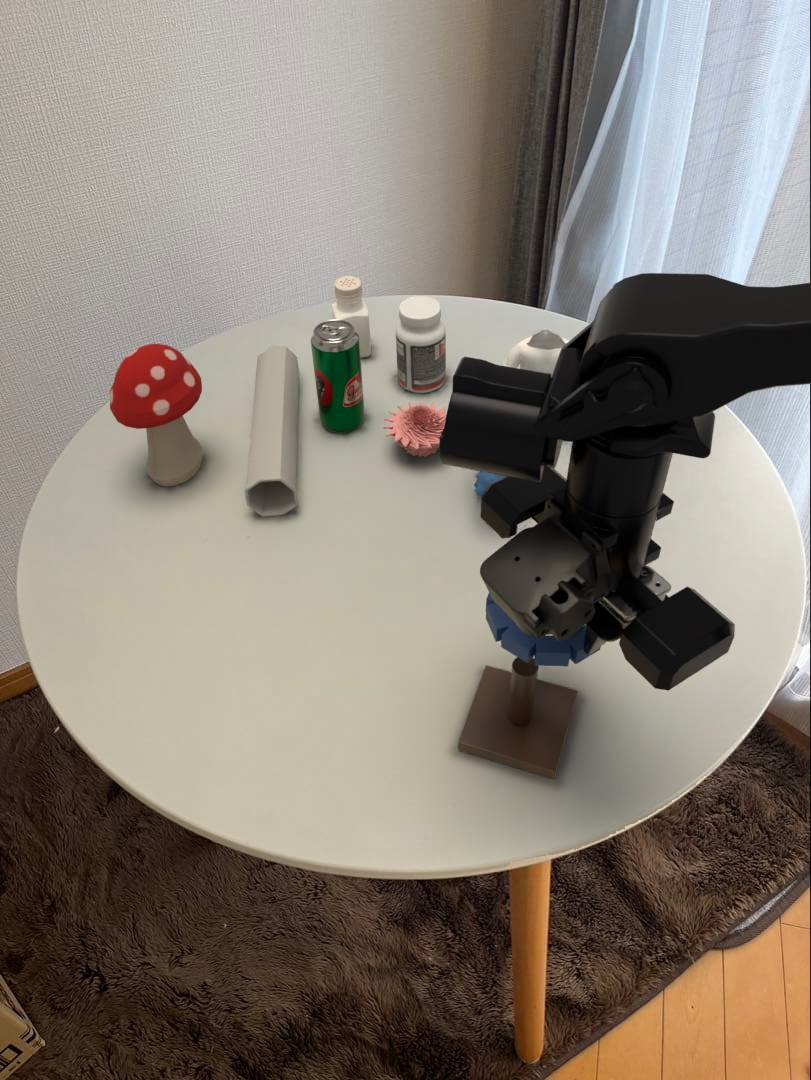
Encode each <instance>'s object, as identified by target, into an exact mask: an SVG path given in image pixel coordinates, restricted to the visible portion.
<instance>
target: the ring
mask: <svg viewBox="0 0 811 1080" xmlns="http://www.w3.org/2000/svg"><path fill="white" fill-rule="evenodd" d="M599 600H600V599H599ZM599 600H598V601H599ZM596 602H597V601H596ZM594 603H595V602H594ZM485 620H486V622H487V625H488V627H489V629H490V632H491V634H492V636H493V639H494V641H495V642H496V643H497V642H501V643H500V648H502V649H504V650H505V651H506V652H508V653H510V654H511V655H513V656H515V657H516V658H517V657H518V658H520V659H522V660H523V661H525V662H527V663H528V662H529V661H530V660H531V658H532V657H533V658H534V659H535V665H536V666H539V667H569V665H570V661H571V662H572V663H573V664H574V665H577V664H579V663H581V662H582V661H584V660H586V659H587V658H589V657H590V656H592V655H594V654H596V653H597V652H599V651H601V648H602V646H604V645H606V642H605V643H604V644H603V645H602V646H601V647H600V648H599V649H597V650H596V651H594V652H593V653H591V654H589V655H587V654H586V653H585V652H584V638H585V632H586V626H587V625H586V624H585V625H584V626H583V627H581V628H580V629H579V630H578V631H577V632H575V633H574V634H573V635H572V636H571V637H569V638H568V639H567V640H564V641H558V640H557V639H556V638H555V637H554V636H553V635H549V634H547V635H546V636H544V637H543V638H540V639H539V638H537V637H536V636H535V635H529V634H526V633H524V632H523V631H522V630H521V629H520V628H519V627H518V626H517V625H516V624H515V622H514V621H513V620H512V619H511V618H510V617H509V616H508V615H507V614H506V613H505V612H504V611H503V610H502V609H501V608H500V606H498V605H497V604H496V603H495V602H494V601H493V599H492V597H491V595H490V593H489V592H488V594H487V596H486V600H485Z"/></svg>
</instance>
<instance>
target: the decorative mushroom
mask: <svg viewBox="0 0 811 1080" xmlns="http://www.w3.org/2000/svg"><path fill="white" fill-rule="evenodd" d="M202 392H203V384H202V376H201V375H200V374H199V372H198V370H197V369H196V367H195V366H194V365H193V364H192V363H191V362H190V361H189V360H188V358H186V357H185V356H184V355H183V353H182V352H181V351H179V350H178V349H176V348H174V347H172V346H170V345H168V344H164V343H163V344H162V343H149V344H145V345H142V346H140V347H138V348H136V349H134V350H133V351H131V352H129V353H128V355H127V356H126V357H125V358H124V359H123V360H122V361H121V363H120V364H119V367H118V368H117V370H116V372H115V375H114V380H113V383H112V385H111V387H110V390H109V410H110V412H111V413H112V415H113V417H114V419H115V420H116V422H118V423H119V424H121V425H123V426H124V427H127V428H131V429H136V430H142V429H145V430H146V441H147V453H148V454H147V460H146V469H145V470H146V472H147V474H148V476H149V477H150V478H151V480H152V481H153V482H154V483H156V484H157V485H159V486H160V487H161V486H162V487H175V486H178V485H181V484H183V483H185V482H187V481H189V480H190V479H191V478H193V477H194V476H195V475H196V474H197V473H198V471H199V470H200V469H201V466H202V463H203V454H204V453H203V446H202V444H201V442H200V441H198V439H197V438H196V437H194V435H193V433H192V432H191V430H190V428H189V425H188V424H187V422H186V419H185V418H184V416H185V415H186V414H187V413H189V411H191V410H192V409H193V408H194V407H195V405H196V404H197V403H198V402H199V400H200V397H201V395H202Z"/></svg>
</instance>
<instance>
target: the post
mask: <svg viewBox="0 0 811 1080" xmlns="http://www.w3.org/2000/svg"><path fill="white" fill-rule="evenodd" d="M539 667H540V666H536V665H535V657H534V656H533V657H532V658H531V660H530V661H529V662H528V663H527V662H525V661H523V660H522V659H520V658H518V657H517V656H516V657H515V658H514V659H513V660H512V662H511V671H509V670H505V669H501V668H498V667H494V666H490V665H485V667H484V669H483V672H482V675H481V678H480V680H479V683H478V686H477V688H476V691H475V694H474V697H473V699H472V703H471V705H470V708H469V710H468V714H467V716H466V719H465V722H464V725H463V727H462V730H461V733H460V736H459V738H458V741H457V750H458V751H460V752H463V753H467V754H470V755H474V756H477V757H480V758H483V759H486V760H489V761H493V762H497V763H500V764H503V765H506V766H510V767H513V768H516V769H519V770H523V771H526V772H529V773H533V774H536V775H539V776H542V777H546V778H550V779H552V780H555V779H556V776H557V772H558V769H559V764H560V761H561V757H562V753H563V750H564V746H565V743H566V740H567V739H566V738H567V735H568V731H569V729H570V724H571V721H572V717H573V713H574V709H575V705H576V702H577V698H578V693H579V690H578V689H574V688H571V687H567V686H563V685H559V684H556V683H552V682H549V681H545V680H542V679H538V674H539Z"/></svg>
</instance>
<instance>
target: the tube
mask: <svg viewBox="0 0 811 1080" xmlns="http://www.w3.org/2000/svg"><path fill="white" fill-rule="evenodd" d="M299 384H300V368H299V360H298V356H297V355H296V354H295V353H294V352H293V351H292V350H291V349H290V348H288V347H287V346H284V345H273V344H271V345H270V346H269V347H268V348H266V349H265V350H264V351H263V352H261V353H260V354H259V355H257V357H256V370H255V381H254V395H253V407H252V419H251V430H250V431H251V432H250V442H249V443H250V444H249V455H248V467H247V468H248V470H247V481H246V485H245V486H244V488H243V492H244V497H245V501H246V506H247V507H249V508H250V509H252V510H253V511H254V512H255V513H256V514H258V515H259V516H260V517H263V518H264V517H276V516H277V517H281V516H284V515H286V514H287V513H288V512H290V511H292V510H293V509H295V508H296V507H298V506H299V499H298V498H299V497H298V493H297V474H298V473H297V472H298V471H297V469H298V467H297V466H298V428H299V427H298V425H299V421H298V420H299V389H300V387H299V386H300V385H299Z"/></svg>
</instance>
